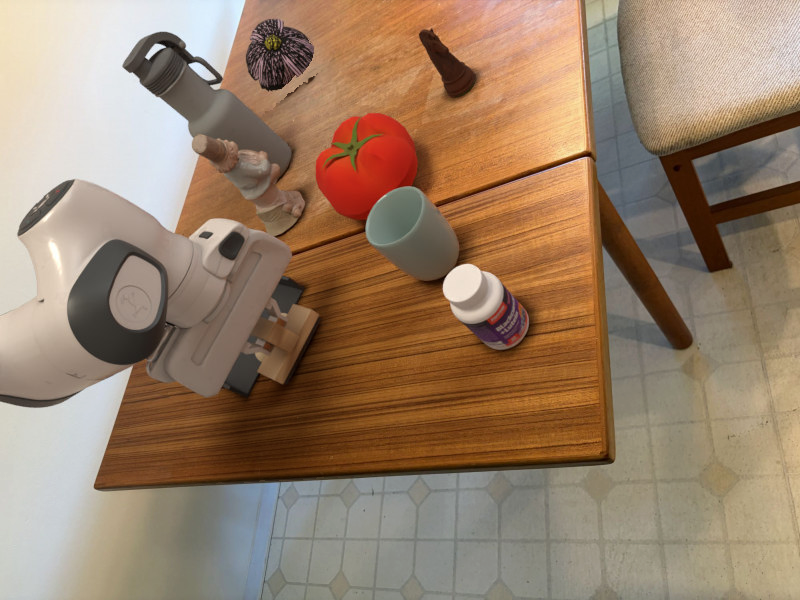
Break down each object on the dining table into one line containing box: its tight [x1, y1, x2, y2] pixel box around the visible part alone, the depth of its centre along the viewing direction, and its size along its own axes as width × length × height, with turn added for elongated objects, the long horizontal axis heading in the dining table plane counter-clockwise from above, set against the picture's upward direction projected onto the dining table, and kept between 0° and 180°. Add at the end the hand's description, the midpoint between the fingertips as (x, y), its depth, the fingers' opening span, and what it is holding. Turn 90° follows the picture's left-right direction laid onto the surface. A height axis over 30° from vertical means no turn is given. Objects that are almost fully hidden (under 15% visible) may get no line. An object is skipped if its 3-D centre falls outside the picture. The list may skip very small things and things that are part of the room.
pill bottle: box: [442, 263, 530, 351], centre depth 54 cm, size 5×5×10 cm
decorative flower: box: [245, 18, 315, 92], centre depth 109 cm, size 14×12×15 cm
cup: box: [365, 186, 460, 282], centre depth 63 cm, size 8×8×10 cm
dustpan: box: [222, 275, 306, 399], centre depth 85 cm, size 26×17×3 cm, turn 61°
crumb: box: [255, 352, 266, 362], centre depth 75 cm, size 3×3×3 cm
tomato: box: [315, 112, 419, 221], centre depth 76 cm, size 14×16×10 cm
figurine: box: [191, 134, 306, 237], centre depth 83 cm, size 9×8×20 cm
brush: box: [250, 304, 323, 385], centre depth 71 cm, size 10×5×7 cm, turn 150°
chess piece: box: [418, 27, 476, 98], centre depth 77 cm, size 5×5×10 cm
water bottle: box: [121, 31, 292, 181], centre depth 91 cm, size 10×10×28 cm
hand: (276, 336), depth 71 cm, fingers closed on brush, 2 cm apart
